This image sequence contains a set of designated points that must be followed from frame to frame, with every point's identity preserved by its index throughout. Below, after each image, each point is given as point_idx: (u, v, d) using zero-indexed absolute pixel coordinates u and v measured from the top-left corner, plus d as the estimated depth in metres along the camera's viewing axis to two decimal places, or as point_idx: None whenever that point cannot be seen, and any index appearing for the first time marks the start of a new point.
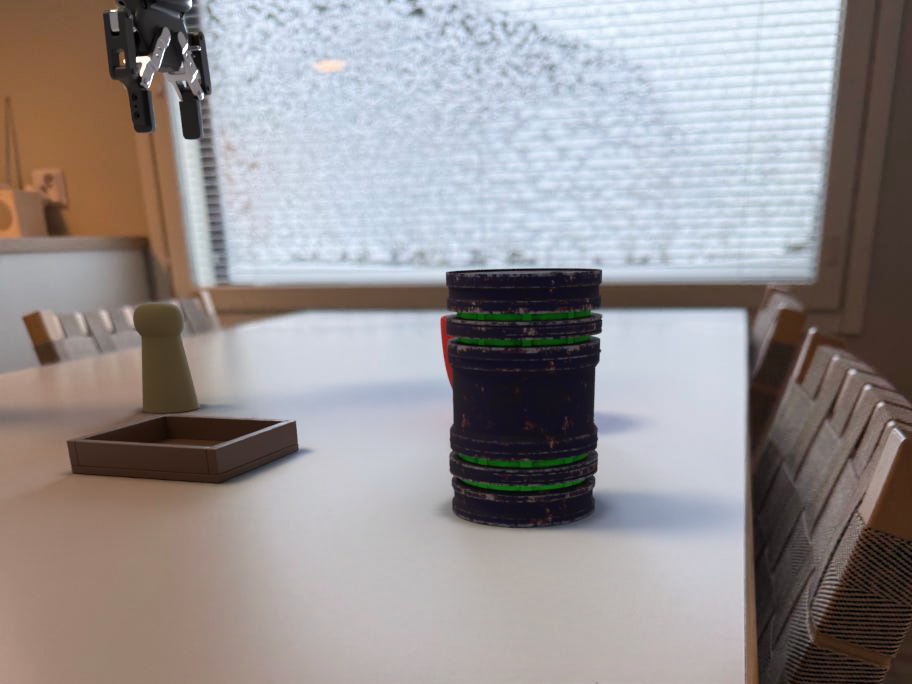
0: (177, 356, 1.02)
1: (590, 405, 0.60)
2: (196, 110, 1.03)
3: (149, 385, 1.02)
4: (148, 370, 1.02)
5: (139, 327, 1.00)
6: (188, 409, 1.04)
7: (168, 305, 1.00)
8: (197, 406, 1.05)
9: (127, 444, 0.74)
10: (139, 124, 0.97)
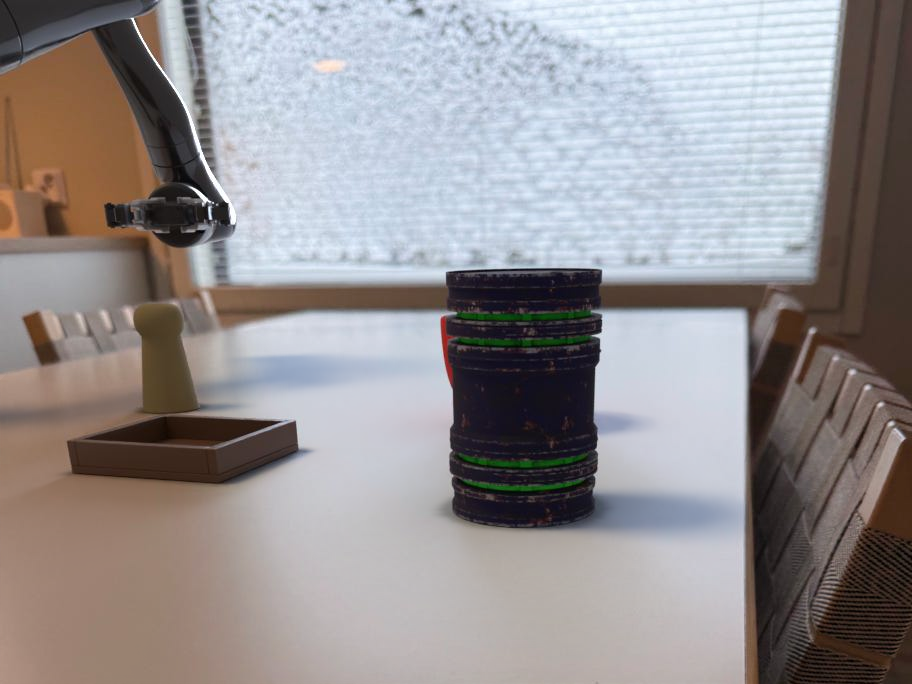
0: (177, 356, 1.02)
1: (590, 405, 0.60)
2: (131, 224, 1.10)
3: (149, 385, 1.02)
4: (148, 370, 1.02)
5: (139, 327, 1.00)
6: (188, 409, 1.04)
7: (168, 305, 1.00)
8: (197, 406, 1.05)
9: (127, 444, 0.74)
10: (208, 212, 1.09)
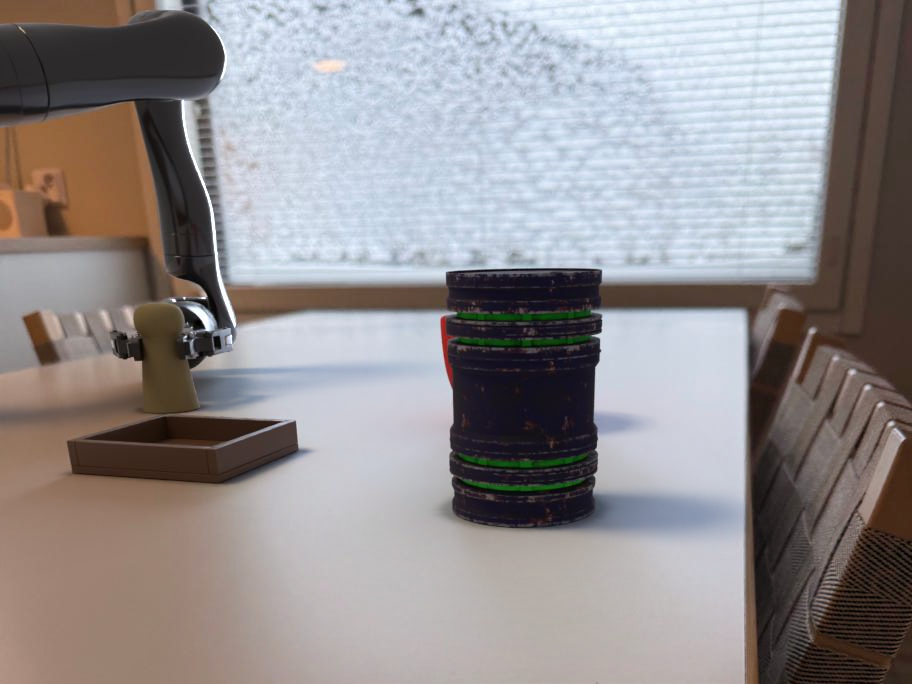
0: (177, 356, 1.02)
1: (590, 405, 0.60)
2: None
3: (149, 385, 1.02)
4: (148, 370, 1.02)
5: (139, 327, 1.00)
6: (188, 409, 1.04)
7: (168, 305, 1.00)
8: (197, 406, 1.05)
9: (127, 444, 0.74)
10: (189, 348, 1.01)
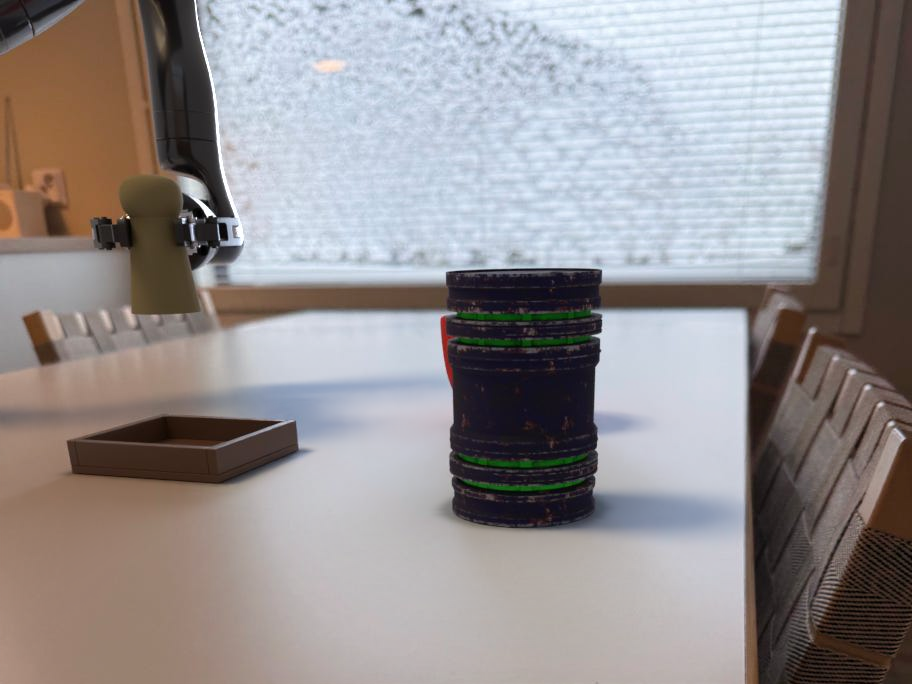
0: (174, 243, 0.82)
1: (590, 405, 0.60)
2: None
3: (139, 279, 0.82)
4: (138, 260, 0.81)
5: (127, 204, 0.80)
6: (188, 311, 0.83)
7: (163, 177, 0.80)
8: (199, 309, 0.85)
9: (127, 444, 0.74)
10: (190, 232, 0.81)
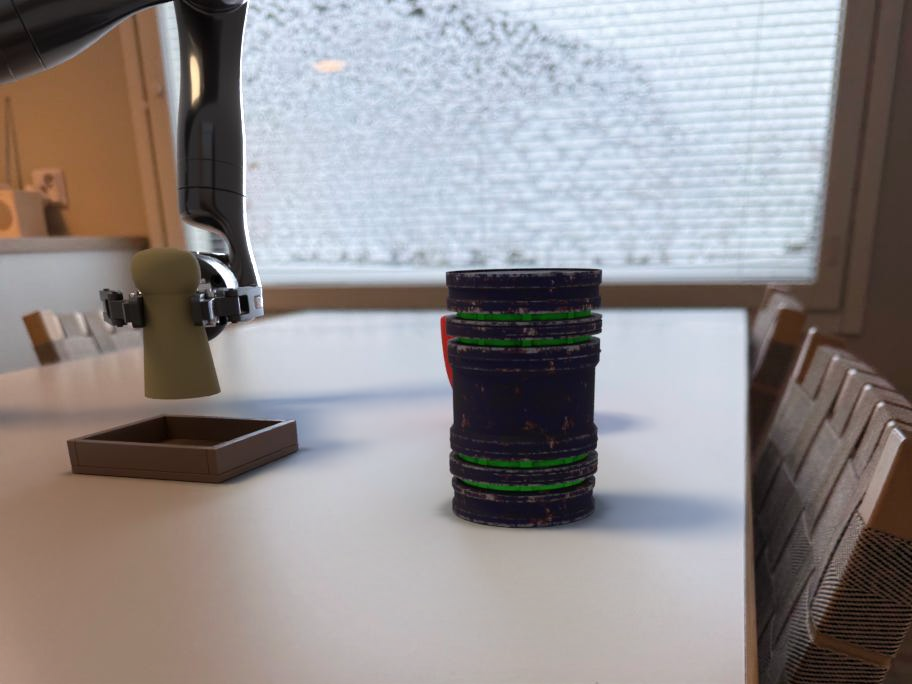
0: (191, 322, 0.74)
1: (590, 405, 0.60)
2: None
3: (153, 361, 0.75)
4: (152, 340, 0.74)
5: (139, 281, 0.73)
6: (206, 394, 0.76)
7: (179, 250, 0.73)
8: (218, 390, 0.78)
9: (127, 444, 0.74)
10: (208, 310, 0.74)
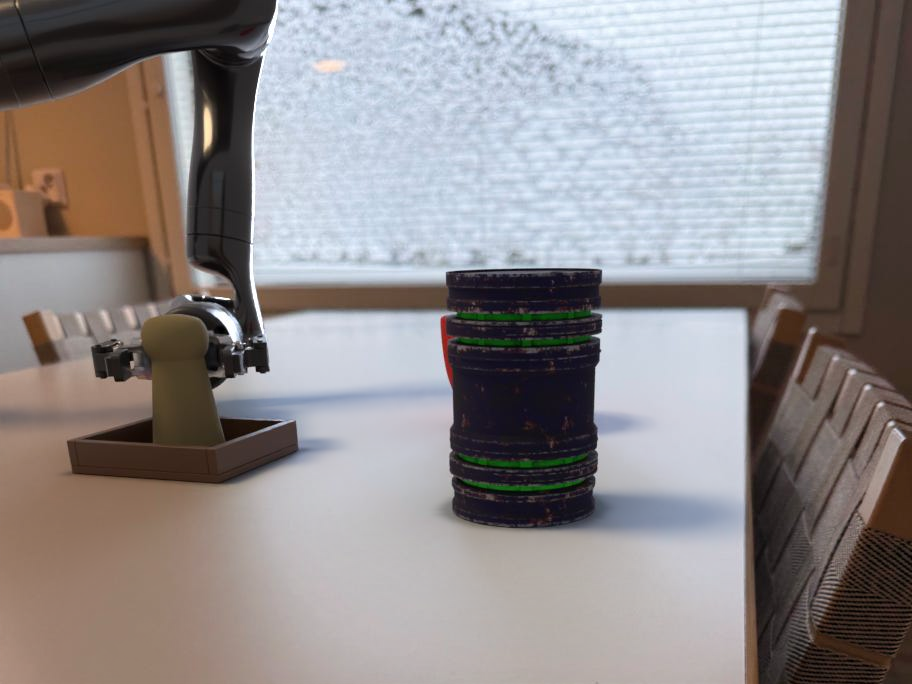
0: (199, 386, 0.76)
1: (590, 405, 0.60)
2: (129, 376, 0.77)
3: (162, 424, 0.77)
4: (161, 404, 0.76)
5: (149, 348, 0.75)
6: None
7: (188, 318, 0.75)
8: None
9: (127, 444, 0.74)
10: (239, 363, 0.76)
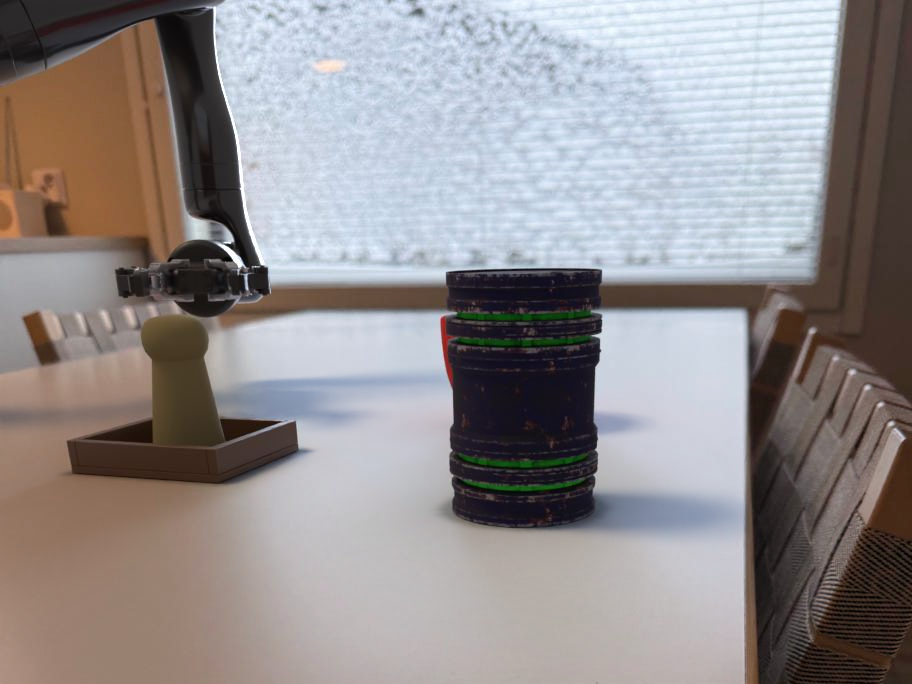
0: (199, 386, 0.76)
1: (590, 405, 0.60)
2: (148, 294, 0.89)
3: (162, 424, 0.77)
4: (161, 404, 0.76)
5: (149, 348, 0.75)
6: None
7: (188, 318, 0.75)
8: None
9: (127, 444, 0.74)
10: (244, 282, 0.88)
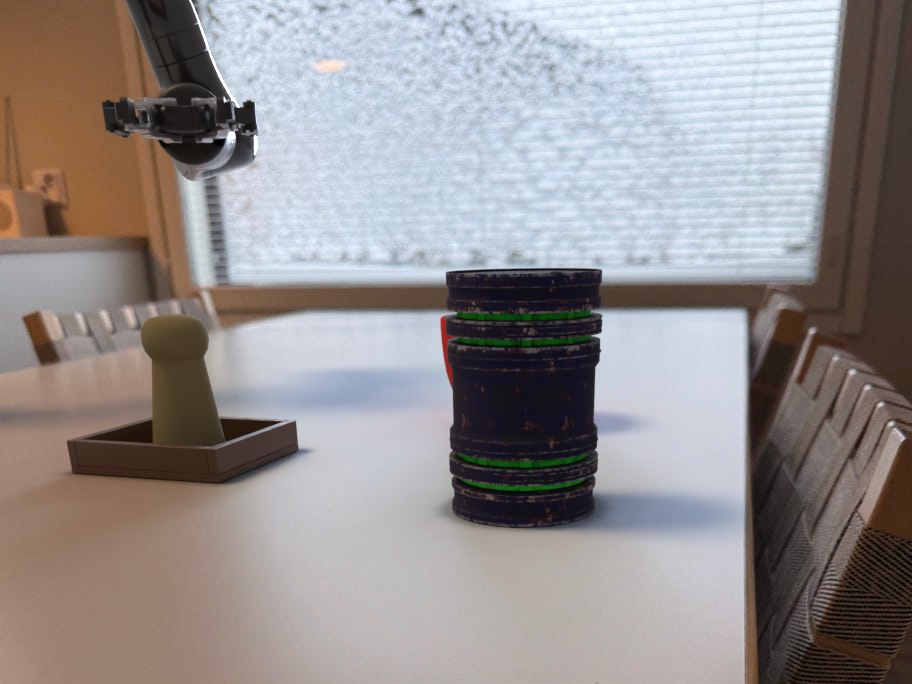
0: (199, 386, 0.76)
1: (590, 405, 0.60)
2: (135, 125, 0.89)
3: (162, 424, 0.77)
4: (161, 404, 0.76)
5: (149, 348, 0.75)
6: None
7: (188, 318, 0.75)
8: None
9: (127, 444, 0.74)
10: (231, 110, 0.88)
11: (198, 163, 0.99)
